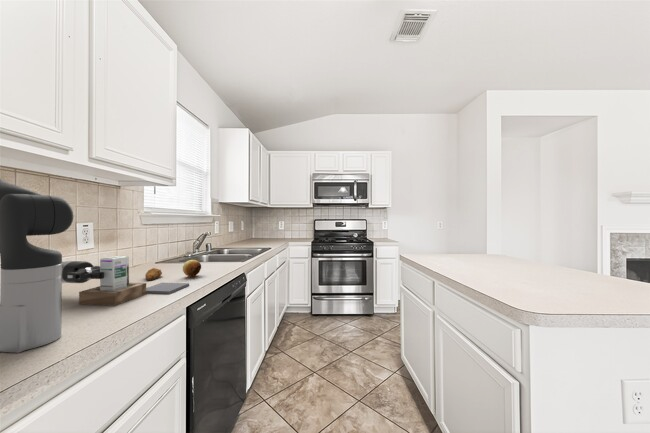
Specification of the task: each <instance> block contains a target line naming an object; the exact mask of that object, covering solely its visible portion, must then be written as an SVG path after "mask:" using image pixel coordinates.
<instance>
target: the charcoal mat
mask: <svg viewBox="0 0 650 433" xmlns="http://www.w3.org/2000/svg"><path fill="white" fill-rule="evenodd" d="M187 287H190V283H189V282H188V283H187V282H183V283H182V282H160V283H156V284H154V285H151V286H148V287H146V294H148V295H149V294H152V295H154V294H155V295H171V294H173V293H176V292H178V291H180V290H183V289H185V288H187Z"/></svg>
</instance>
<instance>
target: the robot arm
mask: <svg viewBox="0 0 650 433" xmlns="http://www.w3.org/2000/svg"><path fill="white" fill-rule="evenodd" d="M73 221H74V212H73V209H72V206H71V205H70V203H69V202H68V201H67V200H66V199H64V198H63V197H60V196H55V195H45V194H41V193H38V192H35V191H33V190H29V189H27V188H25V187H22V186H18V185H17V184H11V183H9V182H6V181H4V180H3V179H1V178H0V353H2V352H3V353H22V352H24V351H26V350H33V349H35V348H39V347H41V346H42V347H43V346H45V345H48V344H50V343H53V342H56V341H57V340H59V339H60V338H61V337H62V322H63V320H62V315H63V314H62V311H63V309H62V306H63V304H62V301H63V298H62V294H63V292H62V290H63V286H62V285H63V283H64V284H84V283H87V282H88V281H91V280H100V279H103V278H104V272H100V265H93V264H92V263H91V262H89V261H86V260H85V261H83V260H82V261H81V260H80V261H78V260H77V261H76V260H67V261H63V254H62V252H60V251H58V250H55V249H48V248H42V247H39V246H36V245H33V244H32V243H30V242H29V240H28V238H27V237H28V236H33V237H34V236H49V235H50V236H51V235H58V234H61V233H64V232H66V231H67V230H68V229H69V228H70V227H71V226H72V224H73Z"/></svg>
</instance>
